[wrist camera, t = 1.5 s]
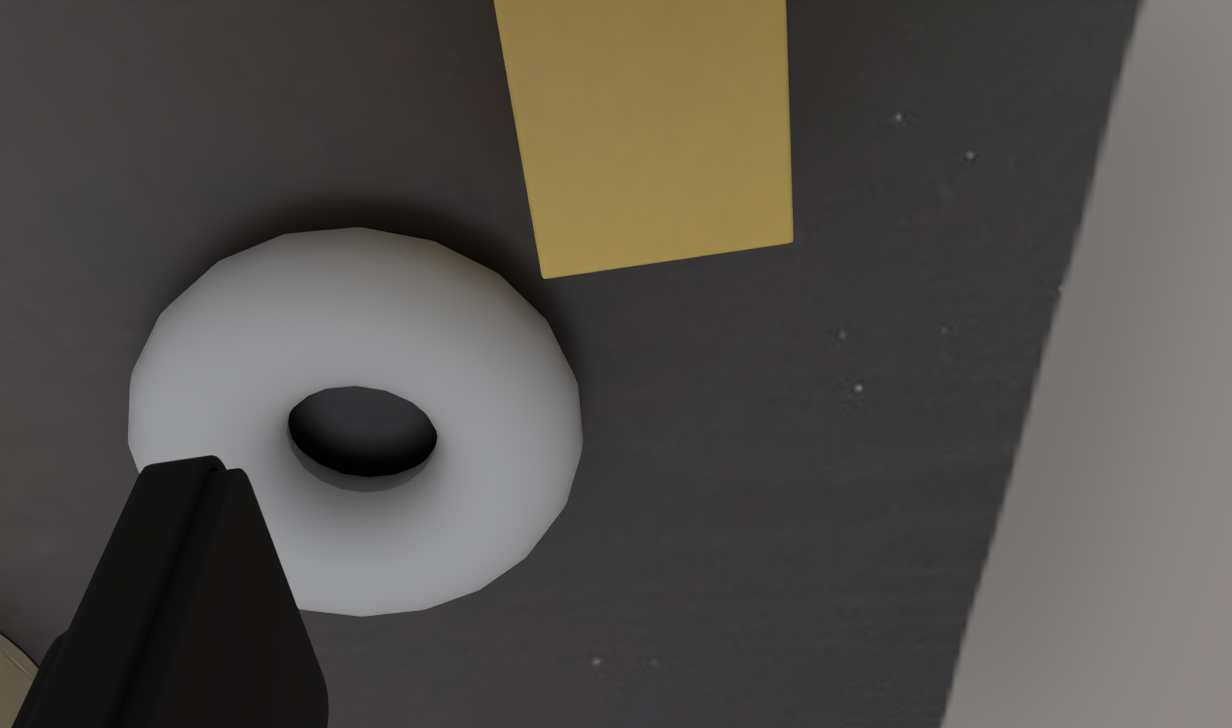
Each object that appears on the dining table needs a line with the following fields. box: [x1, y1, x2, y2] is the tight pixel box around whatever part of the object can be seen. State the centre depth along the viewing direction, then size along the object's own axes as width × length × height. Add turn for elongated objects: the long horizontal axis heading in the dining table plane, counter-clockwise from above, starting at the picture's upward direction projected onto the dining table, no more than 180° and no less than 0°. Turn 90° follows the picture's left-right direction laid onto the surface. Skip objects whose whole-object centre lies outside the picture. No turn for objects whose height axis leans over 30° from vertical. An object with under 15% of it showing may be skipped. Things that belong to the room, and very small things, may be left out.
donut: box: [128, 227, 583, 616], centre depth 25 cm, size 10×4×10 cm
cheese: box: [494, 0, 793, 279], centre depth 20 cm, size 6×4×5 cm
